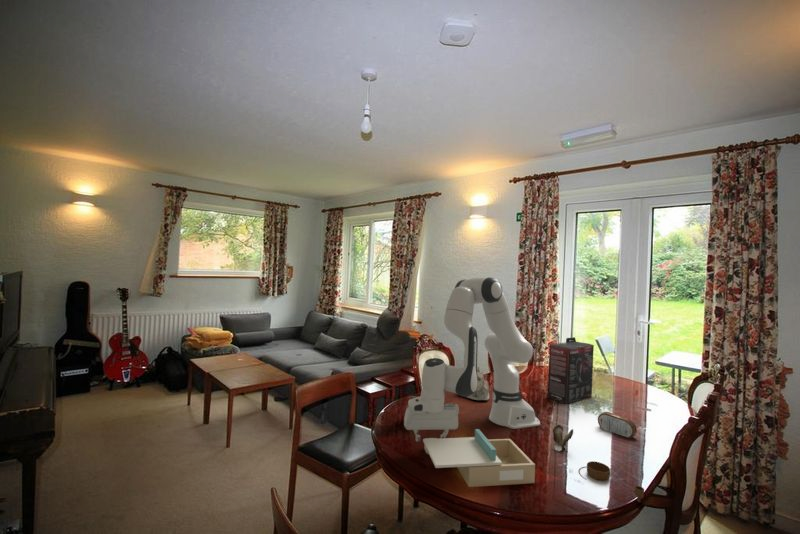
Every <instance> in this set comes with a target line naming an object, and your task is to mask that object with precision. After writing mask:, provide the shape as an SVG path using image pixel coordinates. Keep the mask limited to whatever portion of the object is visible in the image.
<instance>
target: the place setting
mask: <svg viewBox="0 0 800 534" xmlns="http://www.w3.org/2000/svg"><path fill="white" fill-rule="evenodd" d="M584 468H585V469H586V472H587V475H588V476H589V477H590V478H592V479H594V480H595V481H600V482H607V481H609V480H610V477H611V468H610V467H609V466H608V465H606V464H604V463H602V462H599V461H588V462H587V463H586V466H582V467H580V468H579V469H578V474H579V475H580V477H582V479H584V480H588V479H586V478H585V477H584V476H583V475H582V474H581V472H580V471H581V470H582V469H584ZM633 491H634V492H633V493H634V495H635V497H636V498H637V500H636V501H637V503H642V501H641V499H643V498H644V497H645V488H644V487H643V486H639V485H634V490H633Z"/></svg>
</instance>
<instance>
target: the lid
mask: <svg viewBox="0 0 800 534" xmlns="http://www.w3.org/2000/svg"><path fill="white" fill-rule="evenodd" d="M488 439H489V438H487V437H486V436H485V435H484V433H483V432H482V431H481V430H480V428H475V429H474V436H472V437H471V436H470V437H469V436H468V437H467V436H466V437H445V438H440V437H439V438H437V439H425V438H423V439H422V443H423V444H425V446H426V448H427V451H428V453H429V454H428V455H429V457H430V459H431V462H432V463H433V465H434V468H435V469H441V468H442V469H443V468H457V467H467V466H488V465H502V462H501V460H500V459H499V458H498V457H497V456H496V449H495V448H494V446H493V445H492V444H491V443H490V442H489V440H488Z"/></svg>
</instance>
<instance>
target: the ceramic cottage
mask: <svg viewBox="0 0 800 534" xmlns="http://www.w3.org/2000/svg"><path fill="white" fill-rule="evenodd" d="M483 373H484V371H481V369H480V367H478V366H477V377H478V386H477V390H476V392H475V393H473V394H472V395H470V396H468V397H466V399H471V400H476V401H489V399H490V393H489V383H488V380H485V379H484V374H483Z"/></svg>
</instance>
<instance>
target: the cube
mask: <svg viewBox="0 0 800 534" xmlns="http://www.w3.org/2000/svg"><path fill="white" fill-rule="evenodd" d="M424 439H438V438H437V437H429V438H428V437H426V438H424ZM423 444H424V443H423ZM423 448H424V449H423V450H424V452H425V453H426V455H429V453H428V451H427V448H426V446H425V444H424V447H423Z"/></svg>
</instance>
